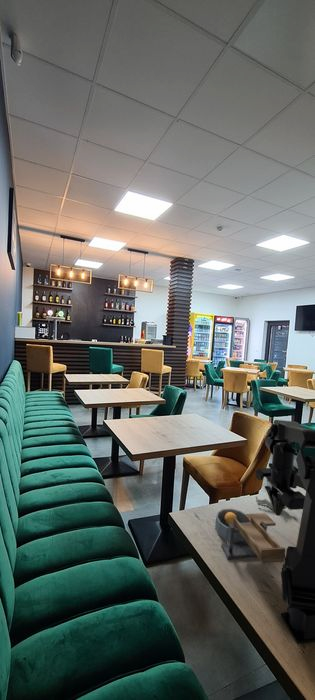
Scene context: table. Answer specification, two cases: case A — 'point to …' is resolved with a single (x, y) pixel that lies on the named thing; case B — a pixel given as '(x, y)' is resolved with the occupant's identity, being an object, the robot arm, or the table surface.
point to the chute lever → (260, 537)
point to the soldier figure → (268, 503)
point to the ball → (230, 518)
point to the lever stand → (238, 545)
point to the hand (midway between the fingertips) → (277, 514)
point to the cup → (223, 526)
